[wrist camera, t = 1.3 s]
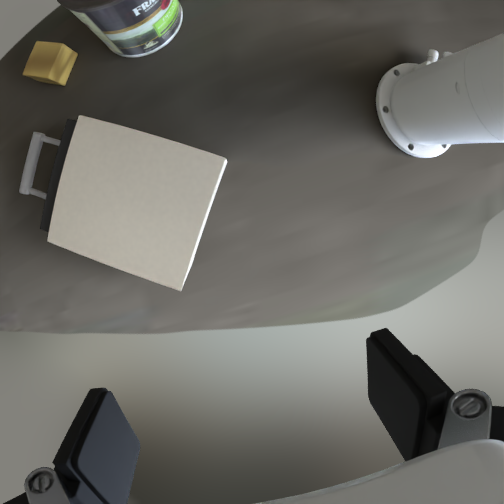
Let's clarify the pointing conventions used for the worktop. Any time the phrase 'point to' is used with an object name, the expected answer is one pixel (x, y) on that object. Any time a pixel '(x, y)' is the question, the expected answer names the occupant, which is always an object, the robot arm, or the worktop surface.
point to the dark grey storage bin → (56, 172)
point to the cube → (50, 63)
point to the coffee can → (130, 23)
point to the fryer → (134, 200)
